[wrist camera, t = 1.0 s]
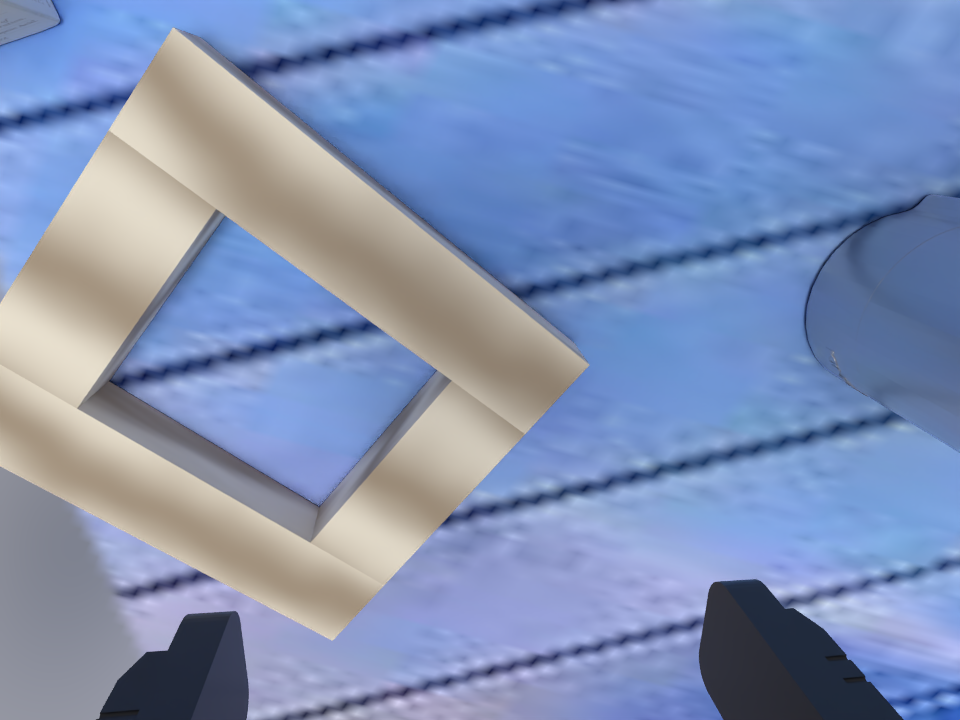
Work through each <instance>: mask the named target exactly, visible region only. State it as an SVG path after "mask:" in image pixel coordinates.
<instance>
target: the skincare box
mask: <svg viewBox="0 0 960 720" xmlns="http://www.w3.org/2000/svg"><path fill="white" fill-rule="evenodd" d="M59 22H60V19H59V16H58V14H57V11H56V9H55V7H54V5H53V3H52V1H51V0H0V45H2V44H5V43H8V42H11V41H14V40H17V39H20V38H23V37H26V36H29V35H32V34H35V33H38V32H41V31H43V30H46V29H48V28H51V27H53V26H55V25H57V24H58V23H59Z"/></svg>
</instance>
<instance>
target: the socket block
mask: <svg viewBox="0 0 960 720" xmlns="http://www.w3.org/2000/svg"><path fill="white" fill-rule="evenodd" d="M225 216H227V217H228V218H230V219H231V220H232V221H234V222H235V223H236V224H238V225H239V226H240V227H242V228H243V229H245V230H246V231H247V232H249V233H250V234H251V235H253V236H254V237H256V238H257V239H258V240H260V241H261V242H262V243H264V244H265V245H267V246H268V247H269V248H271V249H272V250H273V251H275V252H276V253H277V254H279V255H280V256H282V257H283V258H284V259H286V260H287V261H288V262H290V263H291V264H293V265H294V266H295V267H297V268H298V269H299V270H301V271H302V272H304V273H305V274H306V275H308V276H309V277H310V278H312V279H313V280H314V281H316V282H317V283H319V284H320V285H321V286H323V287H324V288H325V289H327V290H328V291H330V292H331V293H332V294H334V295H335V296H336V297H338V298H339V299H340V300H342V301H343V302H345V303H346V304H347V305H349V306H350V307H351V308H353V309H354V310H356V311H357V312H358V313H360V314H361V315H362V316H364V317H365V318H367V319H368V320H369V321H371V322H372V323H373V324H375V325H376V326H377V327H379V328H380V329H382V330H383V331H384V332H386V333H387V334H388V335H390V336H391V337H393V338H394V339H395V340H397V341H398V342H399V343H401V344H402V345H404V346H405V347H406V348H408V349H409V350H410V351H412V352H413V353H414V354H416V355H417V356H419V357H420V358H421V359H423V360H424V361H425V362H427V363H428V364H430V365H431V366H432V367H434V368H435V369H436V370H437V371H436V372H435V373H434V375H433V376H432V377H431V378H430V379H429V380H428V381H427V383H426V384H425V385H424V386H423V387H422V388H421V390H420V391H419V392H418V393H417V394H416V395H415V397H414V398H413V399H412V400H411V401H410V402H409V404H408V405H407V406H406V407H405V408H404V409H403V411H402V412H401V413H400V414H399V415H398V416H397V418H396V419H395V420H394V421H393V422H392V423H391V425H390V426H389V427H388V428H387V429H386V430H385V431H384V433H383V434H382V435H381V436H380V437H379V438H378V440H377V441H376V442H375V443H374V444H373V445H372V447H371V448H370V449H369V450H368V451H367V452H366V454H365V455H364V456H363V457H362V458H361V459H360V461H359V462H358V463H357V464H356V465H355V466H354V468H353V469H352V470H351V471H350V472H349V473H348V475H347V476H346V477H345V478H344V479H343V480H342V481H341V483H340V484H339V485H338V486H337V487H336V488H335V490H334V491H333V492H332V493H331V494H330V495H329V497H328V498H327V499H326V500H325V501H324V502H323V504H322V505H321V506H320V507H318V506H316V505H315V504H313V503H311V502H310V501H308V500H306V499H304V498H303V497H301V496H299V495H298V494H296V493H294V492H293V491H291V490H289V489H288V488H286V487H284V486H283V485H281V484H279V483H278V482H276V481H274V480H273V479H271V478H269V477H268V476H266V475H264V474H263V473H261V472H259V471H258V470H256V469H254V468H253V467H251V466H249V465H248V464H246V463H244V462H243V461H241V460H239V459H238V458H236V457H234V456H233V455H231V454H229V453H228V452H226V451H224V450H223V449H221V448H219V447H218V446H216V445H214V444H213V443H211V442H209V441H208V440H206V439H204V438H203V437H201V436H199V435H198V434H196V433H194V432H193V431H191V430H189V429H188V428H186V427H184V426H183V425H181V424H179V423H178V422H176V421H174V420H173V419H171V418H169V417H168V416H166V415H164V414H163V413H161V412H159V411H158V410H156V409H154V408H153V407H151V406H149V405H148V404H146V403H144V402H143V401H141V400H139V399H138V398H136V397H134V396H133V395H131V394H129V393H128V392H126V391H124V390H123V389H121V388H119V387H118V386H116V385H114V384H113V383H111V382H109V380H110V379H111V378H112V376H113V375H114V373H115V372H116V371H117V369H118V368H119V366H120V365H121V363H122V362H123V361H124V359H125V358H126V356H127V355H128V353H129V352H130V351H131V349H132V348H133V346H134V345H135V343H136V342H137V341H138V339H139V338H140V336H141V335H142V334H143V332H144V331H145V329H146V328H147V326H148V325H149V324H150V322H151V321H152V319H153V318H154V316H155V315H156V314H157V312H158V311H159V309H160V308H161V307H162V305H163V304H164V302H165V301H166V299H167V298H168V297H169V295H170V294H171V292H172V291H173V289H174V288H175V287H176V285H177V284H178V282H179V281H180V280H181V278H182V277H183V275H184V274H185V272H186V271H187V270H188V268H189V267H190V265H191V264H192V262H193V261H194V260H195V258H196V257H197V255H198V254H199V252H200V251H201V250H202V248H203V247H204V245H205V244H206V243H207V241H208V240H209V238H210V237H211V235H212V234H213V233H214V231H215V230H216V228H217V227H218V225H219V224H220V223H221V221H222V220H223V218H224V217H225ZM588 366H589V363H588V362H587V360H586V359H585V358H584V356H583V355H582V353H581V352H580V351H579V349H578V348H577V346H576V345H575V343H574V342H572V341H571V340H570V339H569V338H568V337H566V336H565V335H564V334H563V333H561V332H560V331H559V330H558V329H557V328H555V327H554V326H553V325H552V324H550V323H549V322H548V321H547V320H546V319H544V318H543V317H542V316H541V315H539V314H538V313H537V312H536V311H535V310H533V309H532V308H531V307H530V306H528V305H527V304H526V303H525V302H524V301H522V300H521V299H520V298H519V297H517V296H516V295H515V294H514V293H512V292H511V291H510V290H509V289H508V288H506V287H505V286H504V285H503V284H501V283H500V282H499V281H498V280H497V279H495V278H494V277H493V276H492V275H490V274H489V273H488V272H487V271H486V270H484V269H483V268H482V267H481V266H479V265H478V264H477V263H476V262H475V261H473V260H472V259H471V258H470V257H468V256H467V255H466V254H465V253H464V252H462V251H461V250H460V249H459V248H457V247H456V246H455V245H454V244H453V243H451V242H450V241H449V240H448V239H446V238H445V237H444V236H443V235H442V234H440V233H439V232H438V231H437V230H435V229H434V228H433V227H432V226H431V225H429V224H428V223H427V222H426V221H424V220H423V219H422V218H421V217H420V216H418V215H417V214H416V213H415V212H413V211H412V210H411V209H410V208H408V207H407V206H406V205H405V204H404V203H402V202H401V201H400V200H399V199H397V198H396V197H395V196H394V195H393V194H391V193H390V192H389V191H388V190H386V189H385V188H384V187H383V186H382V185H380V184H379V183H378V182H377V181H375V180H374V179H373V178H372V177H371V176H369V175H368V174H367V173H366V172H364V171H363V170H362V169H361V168H360V167H358V166H357V165H356V164H355V163H353V162H352V161H351V160H350V159H349V158H347V157H346V156H345V155H344V154H342V153H341V152H340V151H339V150H338V149H336V148H335V147H334V146H333V145H331V144H330V143H329V142H328V141H327V140H325V139H324V138H323V137H322V136H320V135H319V134H318V133H317V132H316V131H314V130H313V129H312V128H311V127H309V126H308V125H307V124H306V123H305V122H303V121H302V120H301V119H300V118H298V117H297V116H296V115H295V114H293V113H292V112H291V111H290V110H289V109H287V108H286V107H285V106H284V105H282V104H281V103H280V102H279V101H278V100H276V99H275V98H274V97H273V96H271V95H270V94H269V93H268V92H267V91H265V90H264V89H263V88H262V87H260V86H259V85H258V84H257V83H256V82H254V81H253V80H252V79H251V78H249V77H248V76H247V75H246V74H245V73H243V72H242V71H241V70H240V69H238V68H237V67H236V66H235V65H234V64H232V63H231V62H230V61H229V60H227V59H226V58H225V57H224V56H223V55H221V54H220V53H219V52H218V51H216V50H215V49H214V48H213V47H212V46H210V45H209V44H208V43H207V42H205V41H204V40H203V39H202V38H201V37H198V36H195V35H193V34H190V33H187V32H185V31H182V30H179V29H176V28H174V27H173V28H172V30H171V32H170V33H169V35H168V36H167V38H166V40H165V41H164V43H163V44H162V46H161V48H160V49H159V51H158V52H157V54H156V56H155V57H154V59H153V60H152V62H151V64H150V65H149V67H148V68H147V70H146V72H145V73H144V75H143V76H142V78H141V80H140V81H139V83H138V84H137V86H136V88H135V89H134V91H133V92H132V94H131V96H130V97H129V99H128V100H127V102H126V104H125V105H124V107H123V108H122V110H121V111H120V113H119V115H118V116H117V118H116V119H115V121H114V123H113V124H112V126H111V127H110V129H109V131H108V132H107V134H106V135H105V137H104V139H103V140H102V142H101V143H100V145H99V147H98V148H97V150H96V151H95V153H94V155H93V156H92V158H91V159H90V161H89V163H88V164H87V166H86V167H85V169H84V171H83V172H82V174H81V175H80V177H79V179H78V180H77V182H76V183H75V185H74V187H73V188H72V190H71V191H70V193H69V195H68V196H67V198H66V199H65V201H64V203H63V204H62V206H61V207H60V209H59V211H58V212H57V214H56V215H55V217H54V219H53V220H52V222H51V223H50V225H49V227H48V228H47V230H46V231H45V233H44V235H43V236H42V238H41V239H40V241H39V242H38V244H37V246H36V247H35V249H34V250H33V252H32V254H31V255H30V257H29V258H28V260H27V262H26V263H25V265H24V266H23V268H22V270H21V271H20V273H19V274H18V276H17V278H16V279H15V281H14V282H13V284H12V286H11V287H10V289H9V290H8V292H7V294H6V295H5V297H4V298H3V300H2V302H1V303H0V466H1V467H3V468H5V469H7V470H8V471H10V472H12V473H14V474H16V475H18V476H20V477H22V478H24V479H26V480H28V481H30V482H31V483H33V484H35V485H37V486H39V487H41V488H43V489H45V490H47V491H48V492H50V493H52V494H54V495H56V496H58V497H60V498H62V499H64V500H66V501H67V502H69V503H71V504H73V505H75V506H77V507H79V508H81V509H83V510H85V511H86V512H88V513H90V514H92V515H94V516H96V517H98V518H100V519H102V520H104V521H106V522H107V523H109V524H111V525H113V526H115V527H117V528H119V529H121V530H123V531H125V532H126V533H128V534H130V535H132V536H134V537H136V538H138V539H140V540H142V541H144V542H145V543H147V544H149V545H151V546H153V547H155V548H157V549H159V550H161V551H163V552H165V553H166V554H168V555H170V556H172V557H174V558H176V559H178V560H180V561H182V562H184V563H185V564H187V565H189V566H191V567H193V568H195V569H197V570H199V571H201V572H203V573H205V574H206V575H208V576H210V577H212V578H214V579H216V580H218V581H220V582H222V583H224V584H225V585H227V586H229V587H231V588H233V589H235V590H237V591H239V592H241V593H243V594H245V595H246V596H248V597H250V598H252V599H254V600H256V601H258V602H260V603H262V604H264V605H265V606H267V607H269V608H271V609H273V610H275V611H277V612H279V613H281V614H283V615H284V616H286V617H288V618H290V619H292V620H294V621H296V622H298V623H300V624H302V625H304V626H305V627H307V628H309V629H311V630H313V631H315V632H317V633H319V634H321V635H323V636H324V637H326V638H328V639H330V640H332V641H333V640H334V639H335V638H336V636H337V635H338V634H339V633H340V632H341V631H342V630H343V629H344V628H345V627H346V626H347V625H348V624H349V622H350V621H351V620H352V619H353V618H354V617H355V616H356V615H357V614H358V613H359V612H360V611H361V610H362V609H363V607H364V606H365V605H366V604H367V603H368V602H369V601H370V600H371V599H372V598H373V597H374V596H375V595H376V594H377V592H378V591H379V590H380V589H381V588H382V587H383V586H384V585H385V584H386V583H387V582H388V581H389V580H390V579H391V577H392V576H393V575H394V574H395V573H396V572H397V571H398V570H399V569H400V568H401V567H402V566H403V565H404V563H405V562H406V561H407V560H408V559H409V558H410V557H411V556H412V555H413V554H414V553H415V552H416V551H417V550H418V548H419V547H420V546H421V545H422V544H423V543H424V542H425V541H426V540H427V539H428V538H429V537H430V536H431V535H432V533H433V532H434V531H435V530H436V529H437V528H438V527H439V526H440V525H441V524H442V523H443V522H444V521H445V520H446V518H447V517H448V516H449V515H450V514H451V513H452V512H453V511H454V510H455V509H456V508H457V507H458V506H459V504H460V503H461V502H462V501H463V500H464V499H465V498H466V497H467V496H468V495H469V494H470V493H471V492H472V491H473V489H474V488H475V487H476V486H477V485H478V484H479V483H480V482H481V481H482V480H483V479H484V478H485V477H486V476H487V474H488V473H489V472H490V471H491V470H492V469H493V468H494V467H495V466H496V465H497V464H498V463H499V462H500V461H501V459H502V458H503V457H504V456H505V455H506V454H507V453H508V452H509V451H510V450H511V449H512V448H513V447H514V445H515V444H516V443H517V442H518V441H519V440H520V439H521V438H522V437H523V436H524V435H525V434H526V433H527V432H528V430H529V429H530V428H531V427H532V426H533V425H534V424H535V423H536V422H537V421H538V420H539V419H540V418H541V417H542V415H543V414H544V413H545V412H546V411H547V410H548V409H549V408H550V407H551V406H552V405H553V404H554V403H555V402H556V400H557V399H558V398H559V397H560V396H561V395H562V394H563V393H564V392H565V391H566V390H567V389H568V388H569V386H570V385H571V384H572V383H573V382H574V381H575V380H576V379H577V378H578V377H579V376H580V375H581V374H582V373H583V371H584V370H585V369H586V368H587V367H588Z"/></svg>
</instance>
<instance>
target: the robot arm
mask: <svg viewBox="0 0 960 720" xmlns="http://www.w3.org/2000/svg"><path fill="white" fill-rule="evenodd" d="M806 329H807V336H808V341H809V344H810V346H811V349H812V351H813V353H814V356H815V357H816V358H817V359H818V361H819V362H820V363H821V365H822V366H823V367H824V368H825V369H827V370H828V371H829V372H831V373H832V374H833V375H835V376H836V377H838V378H839V379H841V380H843V381H844V382H845V383H847V384H848V385H849V386H851V387H852V388H854V389H855V390H857V391H859V392H861V393H862V394H864V395H866V396H869V397H870V398H872V399H874V400H875V401H877V402H878V403H880V404H882V405H883V406H885V407H886V408H888V409H889V410H891V411H893V412H894V413H896V414H898V415H899V416H901V417H903V418H904V419H906V420H907V421H909V422H911V423H912V424H914V425H916V426H917V427H919V428H920V429H922V430H924V431H925V432H927V433H929V434H930V435H932V436H933V437H935V438H937V439H938V440H940V441H942V442H943V443H945V444H946V445H948V446H950V447H951V448H953V449H955V450H956V451H958V452H959V453H960V198H954V197H948V196H941V195H934V194H931V195H928V196H927V197H926V198H925V199H924V200H923V201H922V202H921V203H920V204H919V205H917V206H916V207H915V208H913V209H912V210H909V211H906V212H902V213H898V214H894V215H890V216H886V217H883V218H881V219H879V220H877V221H875V222H873V223H871V224H868V225H866V226H865V227H863V228H862V229H861V230H859V231H858V232H856V233H855V234H853V235H852V236H851V237H849V238H848V239H847V240H846V241H845V242H844V243H843V244H842V245H841V246H840V247H839V248H838V249H837V250H836V251H835V252H834V253H833V254H832V256H831V257H830V258H829V260H828V261H827V263H826V264H825V265H824V267H823V268H822V269H821V271H820V273H819V275H818V277H817V279H816V282H815V284H814V286H813V288H812V291H811V294H810V298H809V302H808V305H807V315H806ZM699 663H700V670H701V674H702V678H703V681H704V684H705V687H706V689H707V691H708V693H709V695H710V697H711V698H712V700H713V702H714V704H715V705H716V707H717V709H718V711H719V713H720V714H721V716H722V718H723V720H903V719H902V717H901V716H900V715H899V714H898V713H897V712H896V711H895V709H894V708H893V707H892V706H891V705H890V704H889V703H888V701H887V700H886V699H885V698H884V697H883V696H882V695H881V694H880V692H879V691H878V690H877V689H876V688H875V687H874V686H873V684H872V683H871V682H867V681H866V679H865V675H864V674H863V673H862V672H861V671H860V670H859V669H858V667H857V666H856V665H855V664H854V663H853V662H852V661H851V660H848V659H847V657H846V654H845V653H844V652H843V650H842V649H841V648H840V647H839V646H838V645H837V644H836V642H835V641H834V640H833V639H832V638H831V637H830V636H829V635H828V633H827V632H826V631H825V630H824V629H823V628H821V627H820V626H818V625H817V624H816V623H814V622H813V621H811V620H810V619H808V618H807V617H805V616H804V615H803V614H801V613H800V612H798V611H797V610H795V609H794V608H790V609H785V608H784V607H783V606H782V605H781V604H780V603H779V601H778V600H777V599H776V598H775V597H774V595H773V594H772V593H771V592H770V591H769V589H768V588H767V587H766V586H765V585H764V584H763V583H762V582H761V581H759V580H756V579H752V580H737V581H721V582H714V583H713V584H712V585H711V587H710V589H709V593H708V599H707V606H706V612H705V618H704V624H703V630H702V637H701V643H700V649H699ZM248 699H249V688H248V678H247V670H246V662H245V655H244V647H243V639H242V631H241V623H240V618H239V615H238V613H237V612H236V611H230V612H214V613H199V614H188V615H186V616H185V617H184V618H183V620H182V622H181V624H180V626H179V628H178V630H177V632H176V634H175V636H174V639H173V641H172V643H171V645H170V647H169V649H168V651H155V652H146V653H145V654H144V655H143V656H142V657H141V658H140V659H139V660H138V661H137V662H136V663H135V664H134V665H133V666H132V667H131V668H130V669H129V670H128V671H127V672H126V673H125V674H124V675H123V676H122V677H121V678H120V679H119V680H118V681H117V683H116V685H115V687H114V688H113V690H112V692H111V694H110V696H109V697H108V699H107V701H106V703H105V705H104V706H103V709H102V710H101V712H100V718H99V719H96V720H246V718H247V711H248Z"/></svg>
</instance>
